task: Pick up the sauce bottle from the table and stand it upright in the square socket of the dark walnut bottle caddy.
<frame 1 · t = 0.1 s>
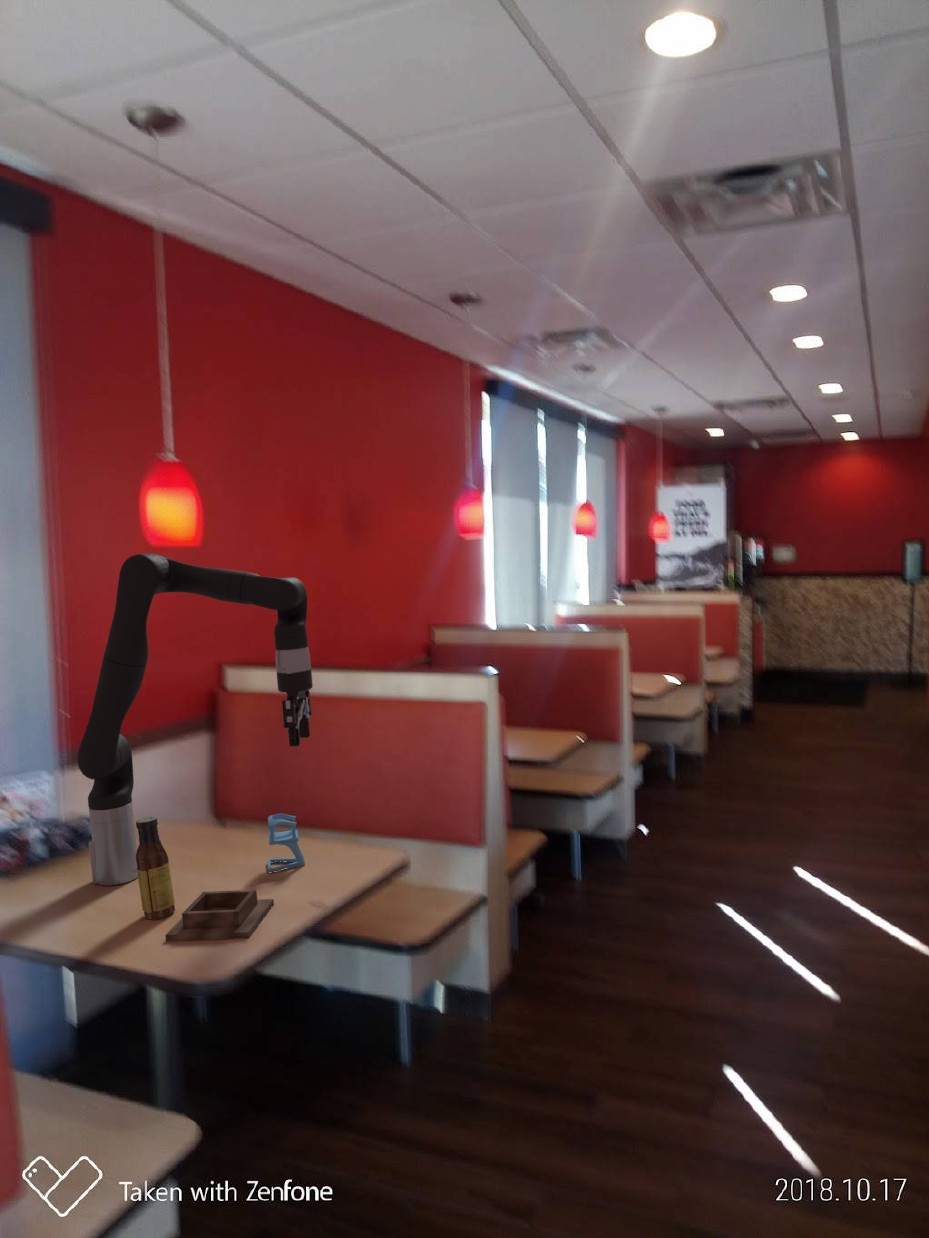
hand: (300, 741, 206), 29 cm above the table, tool pointing down, fingers open, 8 cm apart
sauce bottle: (158, 915, 189), on the table
chair: (286, 866, 213), on the table
bottle caddy: (222, 922, 183), on the table
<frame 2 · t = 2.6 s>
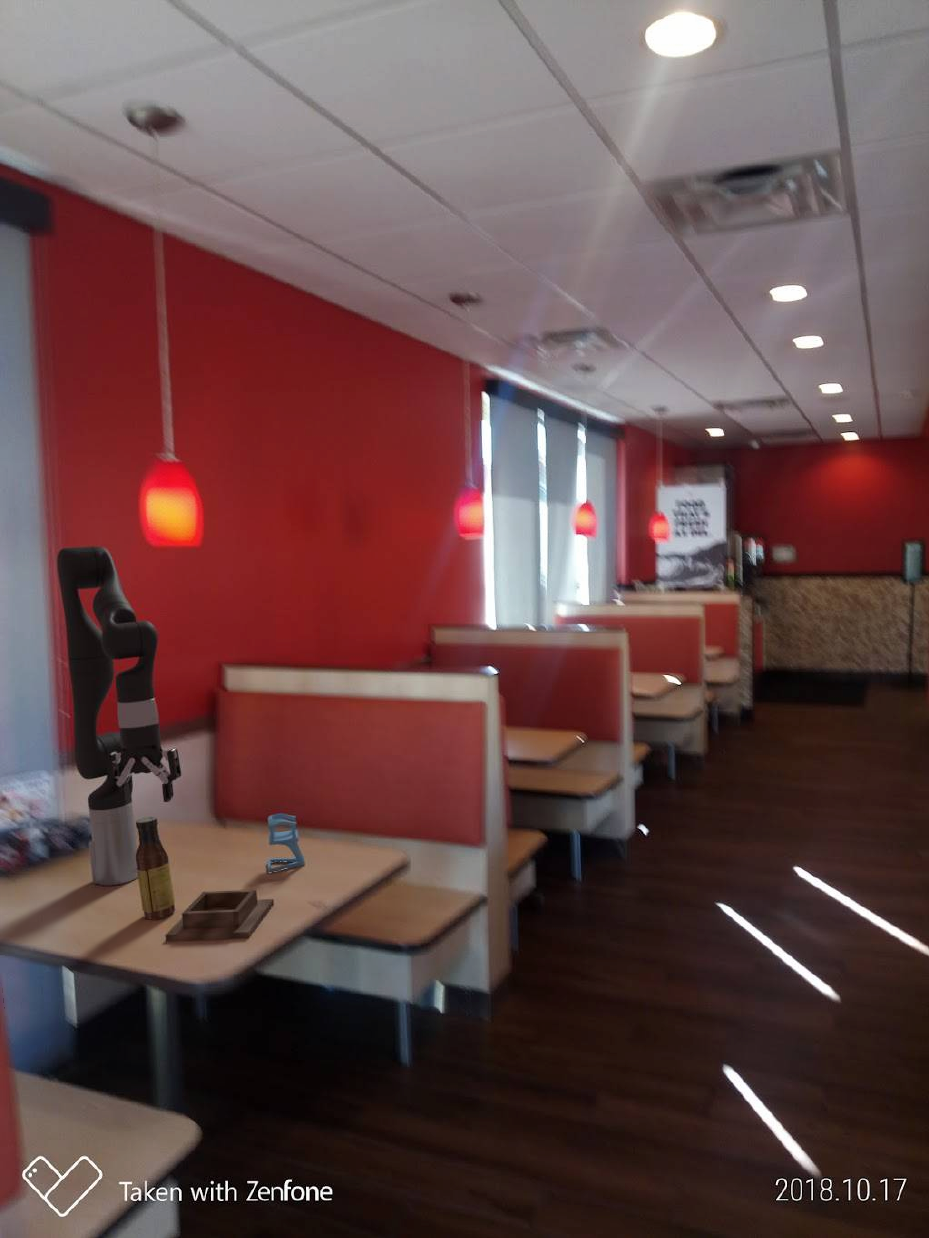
hand: (147, 802, 187), 23 cm above the table, tool pointing down, fingers open, 8 cm apart
nothing on the table moved.
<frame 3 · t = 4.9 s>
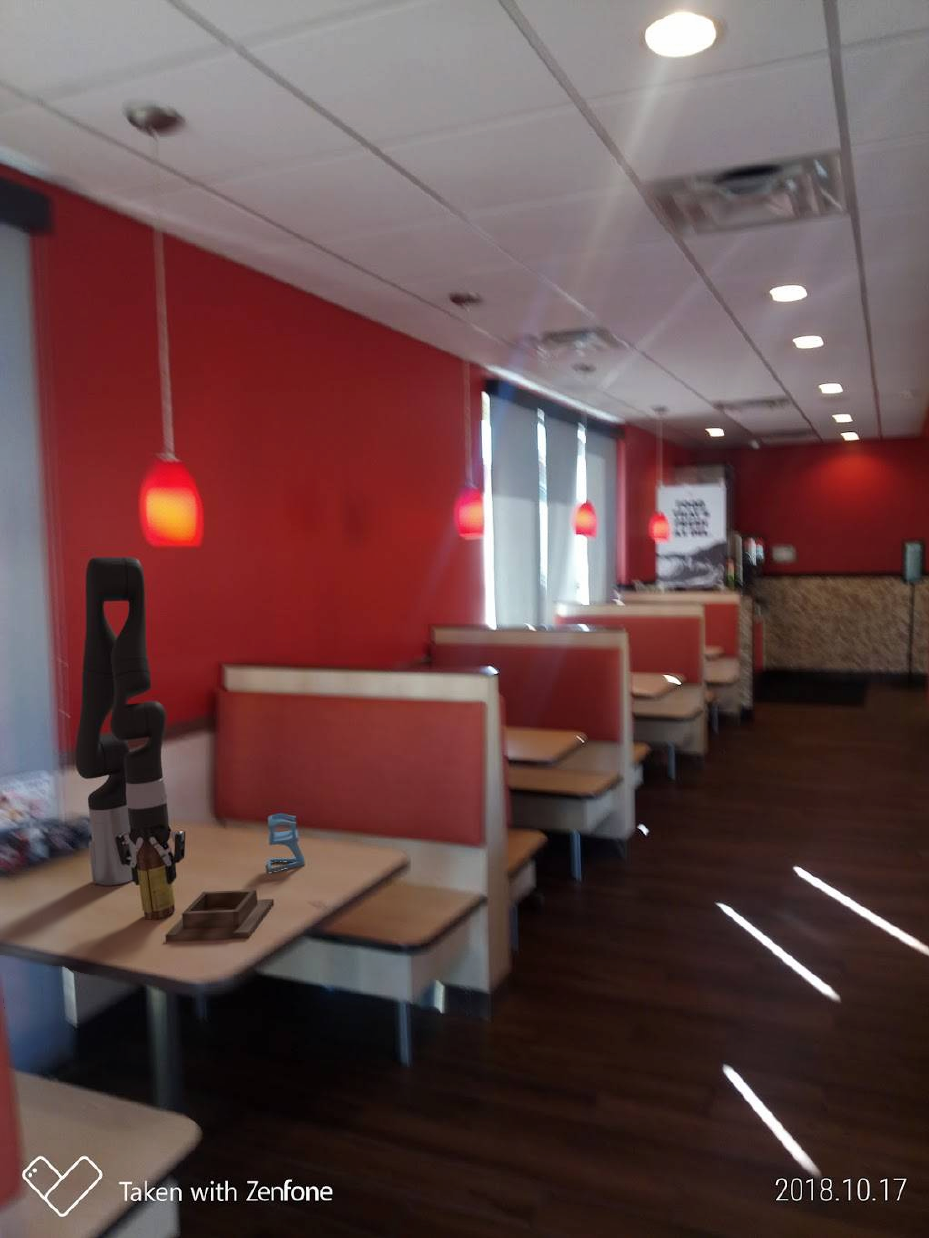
hand: (155, 882, 189), 7 cm above the table, tool pointing down, fingers closed on sauce bottle, 6 cm apart
sauce bottle: (158, 915, 189), on the table, touching gripper
everything else where it was.
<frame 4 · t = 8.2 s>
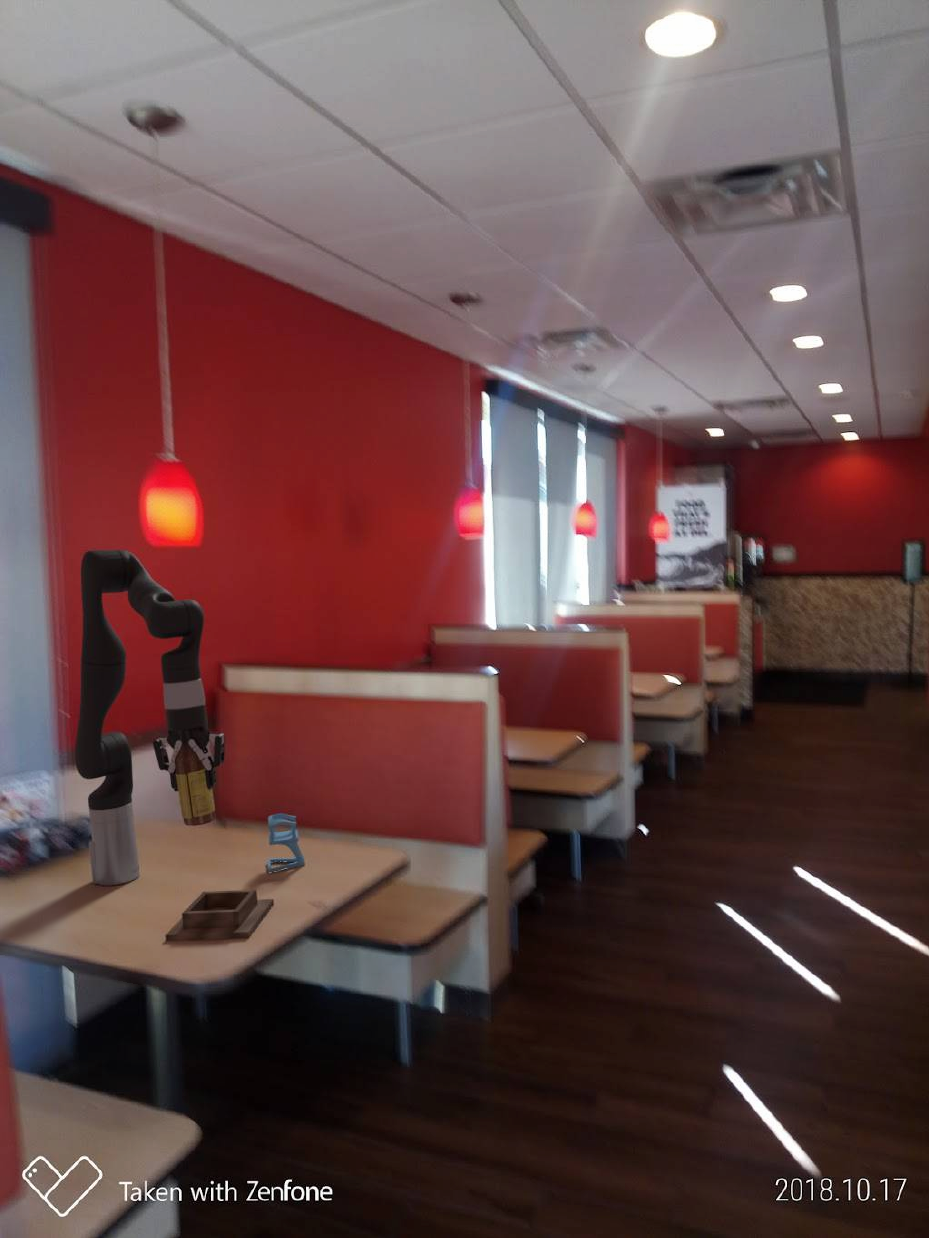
hand: (194, 789, 182), 26 cm above the table, tool pointing down, fingers closed on sauce bottle, 6 cm apart
sauce bottle: (198, 823, 182), point 20 cm above the table, touching gripper
everything else where it was.
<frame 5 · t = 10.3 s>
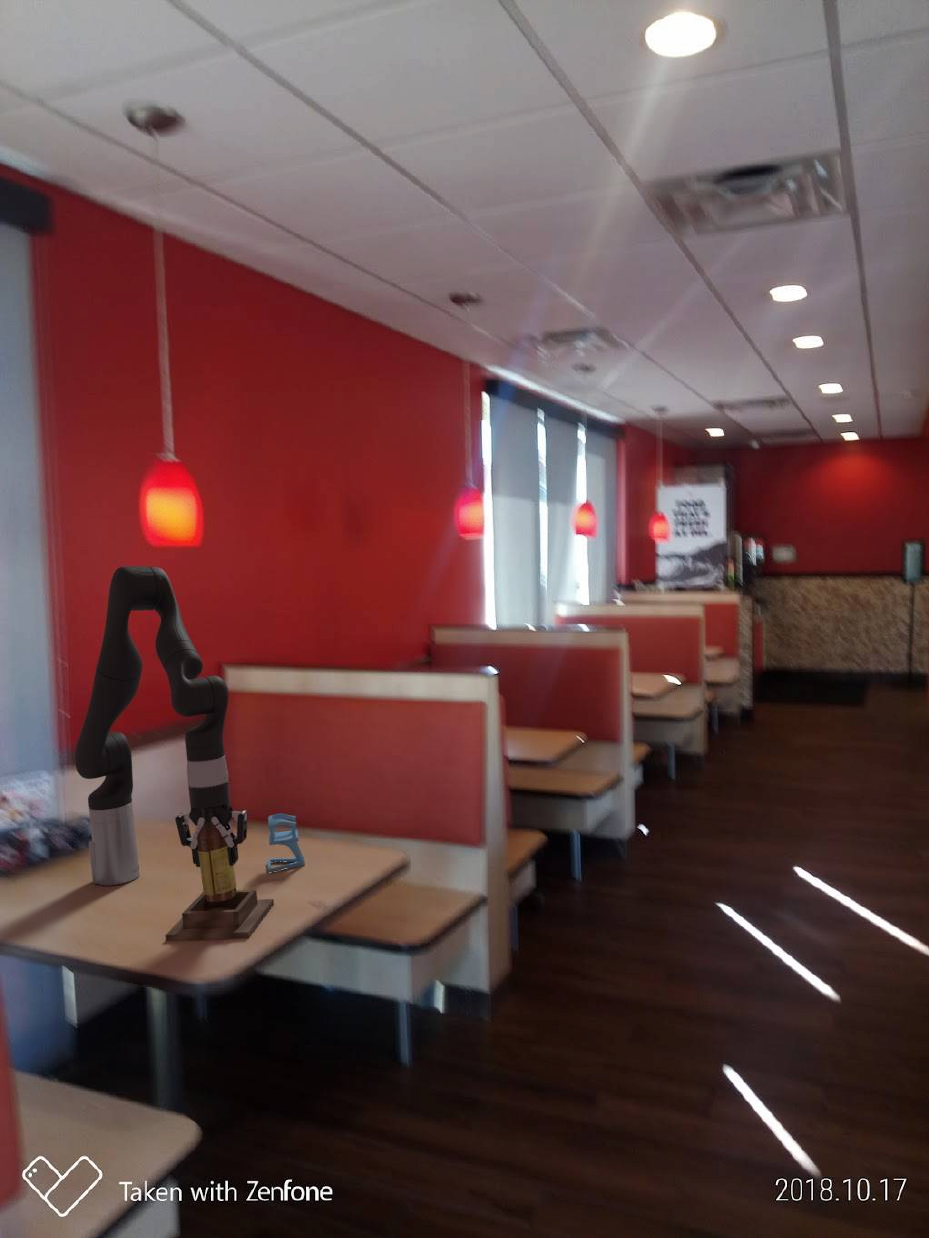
hand: (216, 864, 182), 11 cm above the table, tool pointing down, fingers closed on sauce bottle, 6 cm apart
sauce bottle: (220, 898, 182), point 5 cm above the table, touching gripper
everything else where it was.
when the fingers open (9 cm above the table, at t = 11.7 s): sauce bottle drops 1 cm, resting on bottle caddy.
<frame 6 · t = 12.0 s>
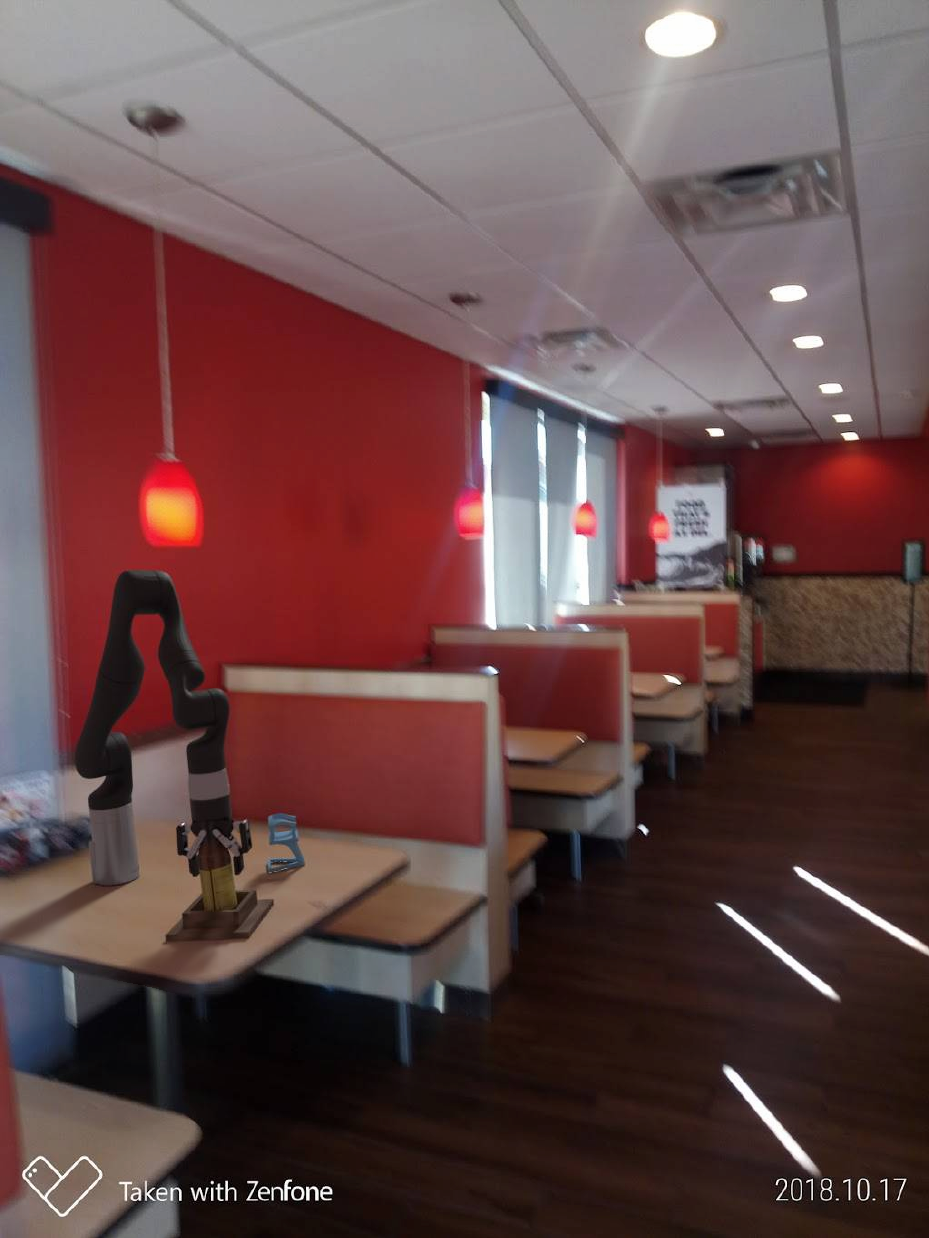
hand: (217, 874, 182), 10 cm above the table, tool pointing down, fingers open, 8 cm apart
sauce bottle: (221, 917, 183), point 1 cm above the table, touching bottle caddy
everything else where it was.
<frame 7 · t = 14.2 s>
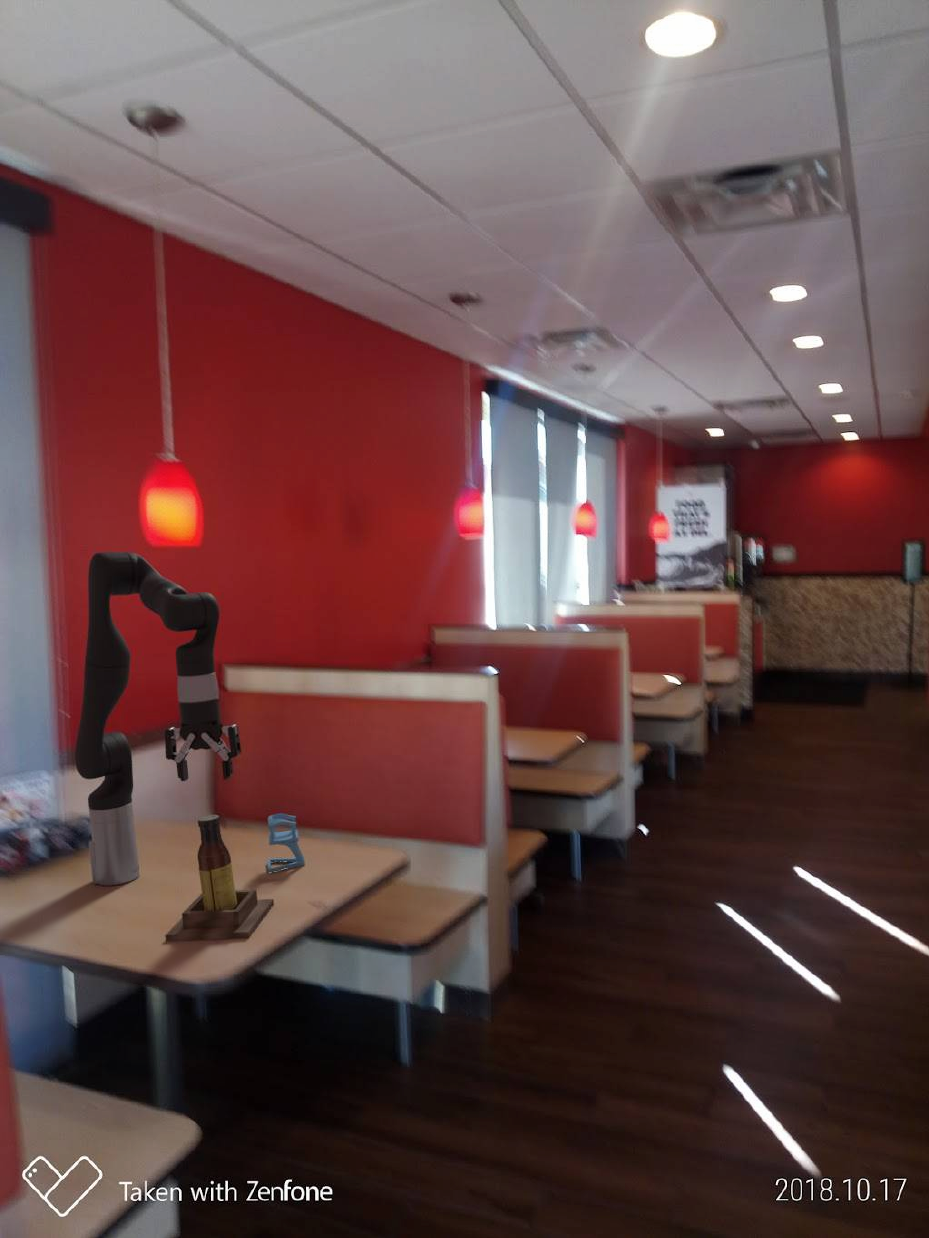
hand: (206, 779, 182), 28 cm above the table, tool pointing down, fingers open, 8 cm apart
nothing on the table moved.
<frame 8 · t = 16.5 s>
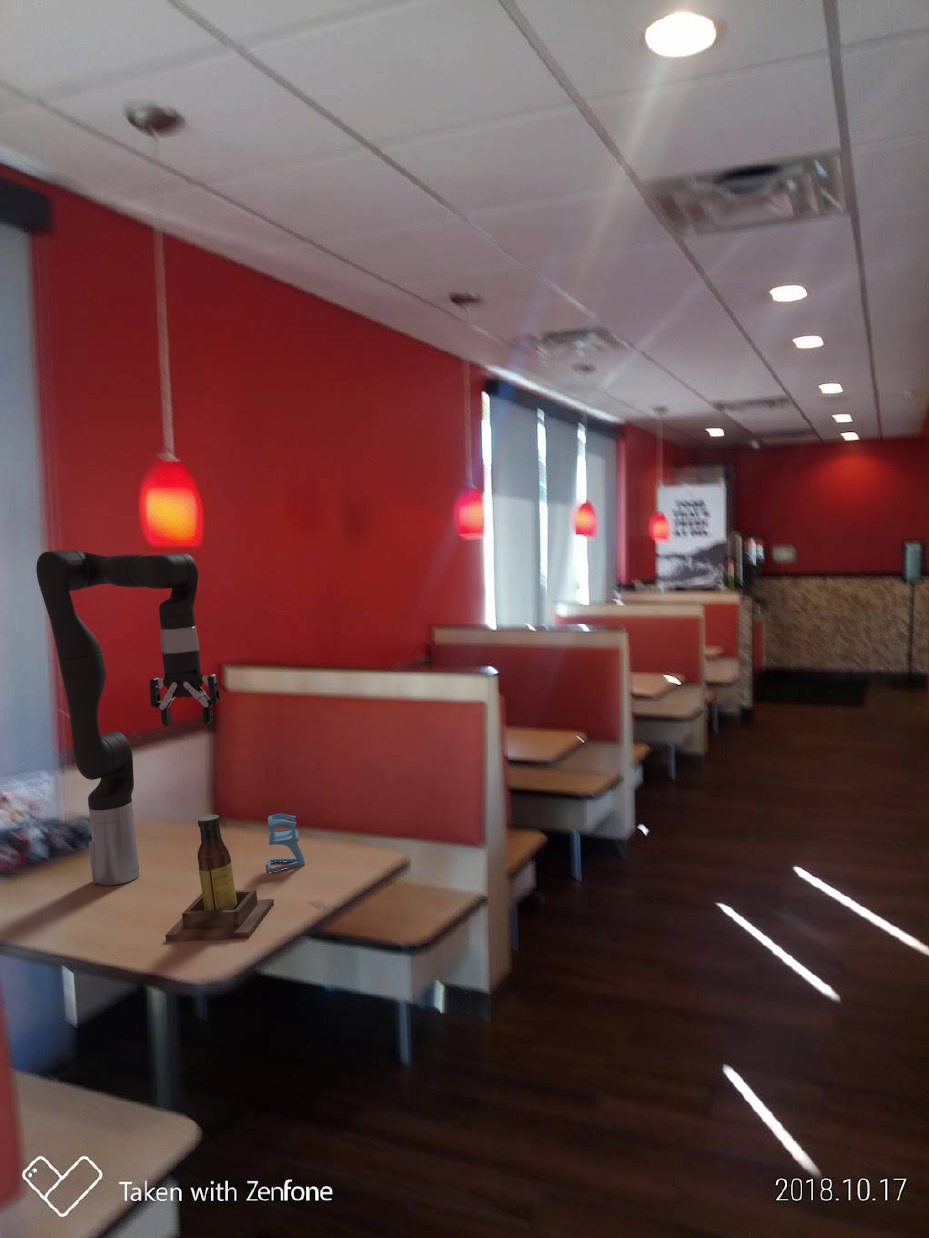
hand: (188, 725, 198), 36 cm above the table, tool pointing down, fingers open, 8 cm apart
nothing on the table moved.
at the end: sauce bottle 0.1 cm off-centre on the bottle caddy, point 1.0 cm above the bottle caddy's base; sauce bottle tilted 0°; the gripper is holding nothing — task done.
